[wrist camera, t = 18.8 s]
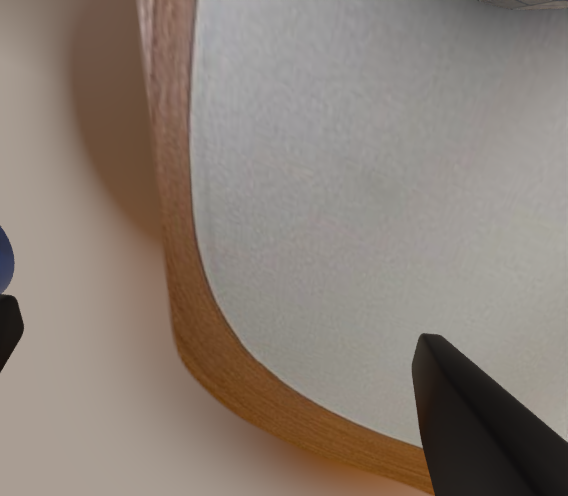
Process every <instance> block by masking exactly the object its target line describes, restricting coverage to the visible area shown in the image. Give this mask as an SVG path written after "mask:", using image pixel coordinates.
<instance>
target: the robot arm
mask: <svg viewBox="0 0 568 496" xmlns="http://www.w3.org/2000/svg"><path fill="white" fill-rule="evenodd" d="M23 331H24V324H23V320H22V316H21V313H20V309H19V305H18V302H17V300H16V298H15V297H14V296H12V295H4V294H0V372H1V370H2V369H3V367H4V365H5V364H6V362H7V360H8V359H9V357H10V355H11V353H12V352H13V350H14V348H15V347H16V345H17V343H18V342H19V340H20V338H21V336H22V334H23ZM412 378H413V385H414V392H415V400H416V407H417V415H418V422H419V429H420V435H421V441H422V445H423V450H424V454H425V457H426V461H427V465H428V469H429V473H430V477H431V481H432V485H433V489H434V493H435V496H568V443H567V442H566V441H565V440H564V439H563V438H562V437H560V436H559V435H558V434H557V433H556V432H554V431H553V430H552V429H551V428H550V427H549V426H547V425H546V424H545V423H544V422H543V421H541V420H540V419H539V418H538V417H537V416H536V415H534V414H533V413H532V412H531V411H530V410H529V409H527V408H526V407H525V406H524V405H523V404H521V403H520V402H519V401H518V400H517V399H516V398H514V397H513V396H512V395H511V394H510V393H508V392H507V391H506V390H505V389H504V388H503V387H501V386H500V385H499V384H498V383H497V382H496V381H494V380H493V379H492V378H491V377H490V376H488V375H487V374H486V373H485V372H484V371H483V370H481V369H480V368H479V367H478V366H477V365H476V364H474V363H473V362H472V361H471V360H470V359H468V358H467V357H466V356H465V355H464V354H463V353H461V352H460V351H459V350H458V349H457V348H455V347H454V346H453V345H452V344H451V343H450V342H448V341H447V340H446V339H445V338H444V337H442V336H441V335H437V334H427V333H423V334H421V335H420V337H419V339H418V343H417V346H416V350H415V354H414V358H413V362H412Z"/></svg>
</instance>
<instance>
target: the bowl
mask: <svg viewBox="0 0 568 496" xmlns="http://www.w3.org/2000/svg"><path fill="white" fill-rule="evenodd" d="M478 1H481V2H483V3H486V4H489V5H493V6H498V7H502V8H507V9H520V10H536V9H563V8H568V0H478Z"/></svg>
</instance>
